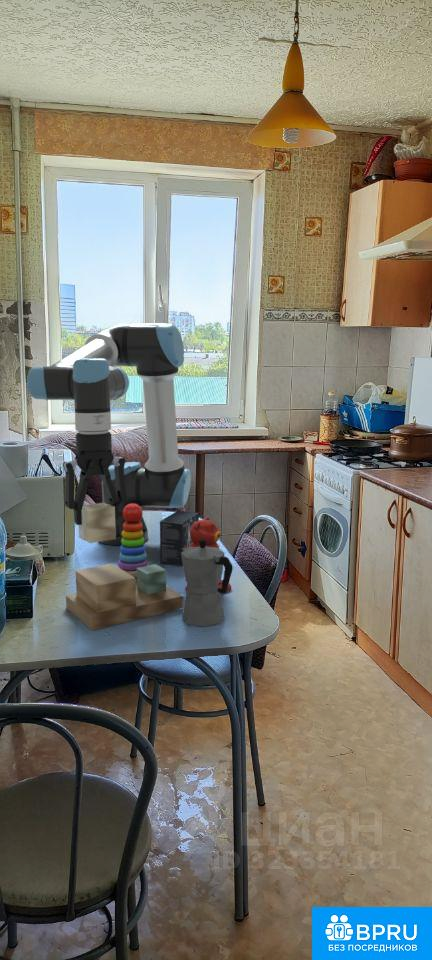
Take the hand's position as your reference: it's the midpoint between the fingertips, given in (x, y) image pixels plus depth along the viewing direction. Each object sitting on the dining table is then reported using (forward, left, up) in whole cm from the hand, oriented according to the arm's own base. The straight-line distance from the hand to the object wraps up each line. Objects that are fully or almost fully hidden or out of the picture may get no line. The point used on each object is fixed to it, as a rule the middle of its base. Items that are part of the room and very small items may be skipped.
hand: (97, 536), depth 153 cm
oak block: (0, 0, 0) cm, 0 cm away
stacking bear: (-26, +2, -18) cm, 32 cm away
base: (-5, +1, -17) cm, 18 cm away
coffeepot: (-17, +17, -18) cm, 30 cm away
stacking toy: (-17, -19, -18) cm, 31 cm away
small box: (-34, -24, -18) cm, 45 cm away
